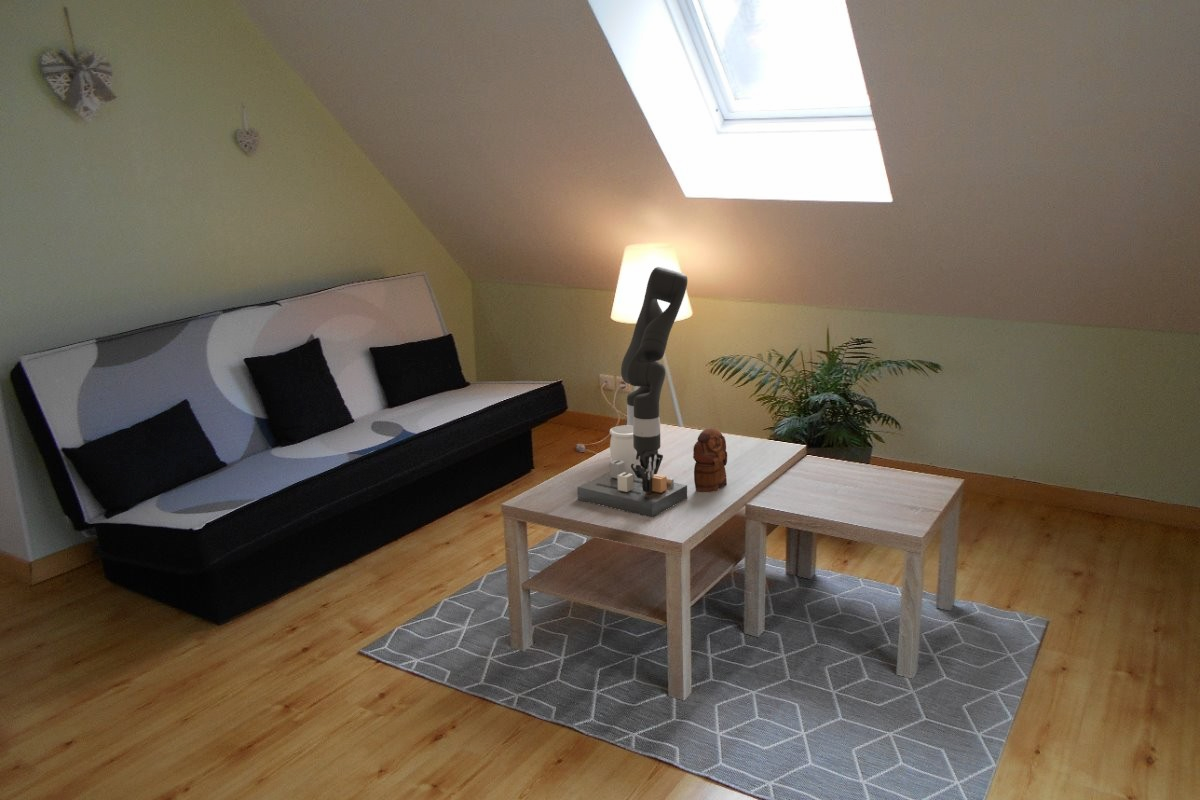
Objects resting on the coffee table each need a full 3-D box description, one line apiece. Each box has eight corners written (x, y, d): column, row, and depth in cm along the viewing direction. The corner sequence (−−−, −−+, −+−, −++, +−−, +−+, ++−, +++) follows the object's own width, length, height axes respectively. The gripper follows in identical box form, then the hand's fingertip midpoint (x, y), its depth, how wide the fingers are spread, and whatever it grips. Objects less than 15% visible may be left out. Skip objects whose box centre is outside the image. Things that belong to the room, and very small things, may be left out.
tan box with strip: (651, 486, 287) (651, 472, 286) (666, 489, 284) (666, 475, 283) (646, 489, 285) (645, 475, 284) (660, 492, 282) (660, 478, 281)
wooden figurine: (709, 495, 292) (709, 435, 287) (691, 490, 296) (691, 432, 291) (731, 483, 301) (731, 426, 296) (713, 479, 304) (713, 422, 300)
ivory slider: (624, 486, 288) (623, 471, 287) (633, 488, 286) (633, 473, 285) (617, 489, 285) (617, 474, 284) (626, 492, 283) (626, 476, 282)
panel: (614, 482, 305) (613, 462, 303) (687, 498, 289) (687, 477, 288) (577, 499, 291) (577, 478, 289) (652, 517, 276) (651, 495, 274)
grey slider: (616, 473, 299) (616, 459, 298) (625, 475, 297) (624, 461, 296) (610, 476, 296) (609, 462, 295) (618, 478, 295) (618, 463, 293)
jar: (641, 482, 304) (640, 435, 300) (607, 481, 306) (606, 433, 302) (646, 471, 314) (646, 425, 310) (614, 470, 316) (613, 424, 312)
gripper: (644, 439, 270) (645, 500, 274) (671, 428, 280) (671, 486, 285) (621, 435, 275) (622, 495, 279) (649, 424, 285) (649, 482, 289)
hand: (647, 490), depth 282 cm, fingers closed
